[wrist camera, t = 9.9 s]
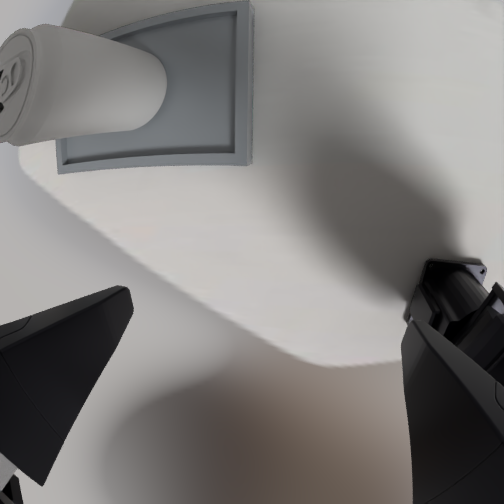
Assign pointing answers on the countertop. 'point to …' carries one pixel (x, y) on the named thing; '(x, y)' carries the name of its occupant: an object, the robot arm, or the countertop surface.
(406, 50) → the countertop surface
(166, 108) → the tray
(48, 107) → the beverage can
